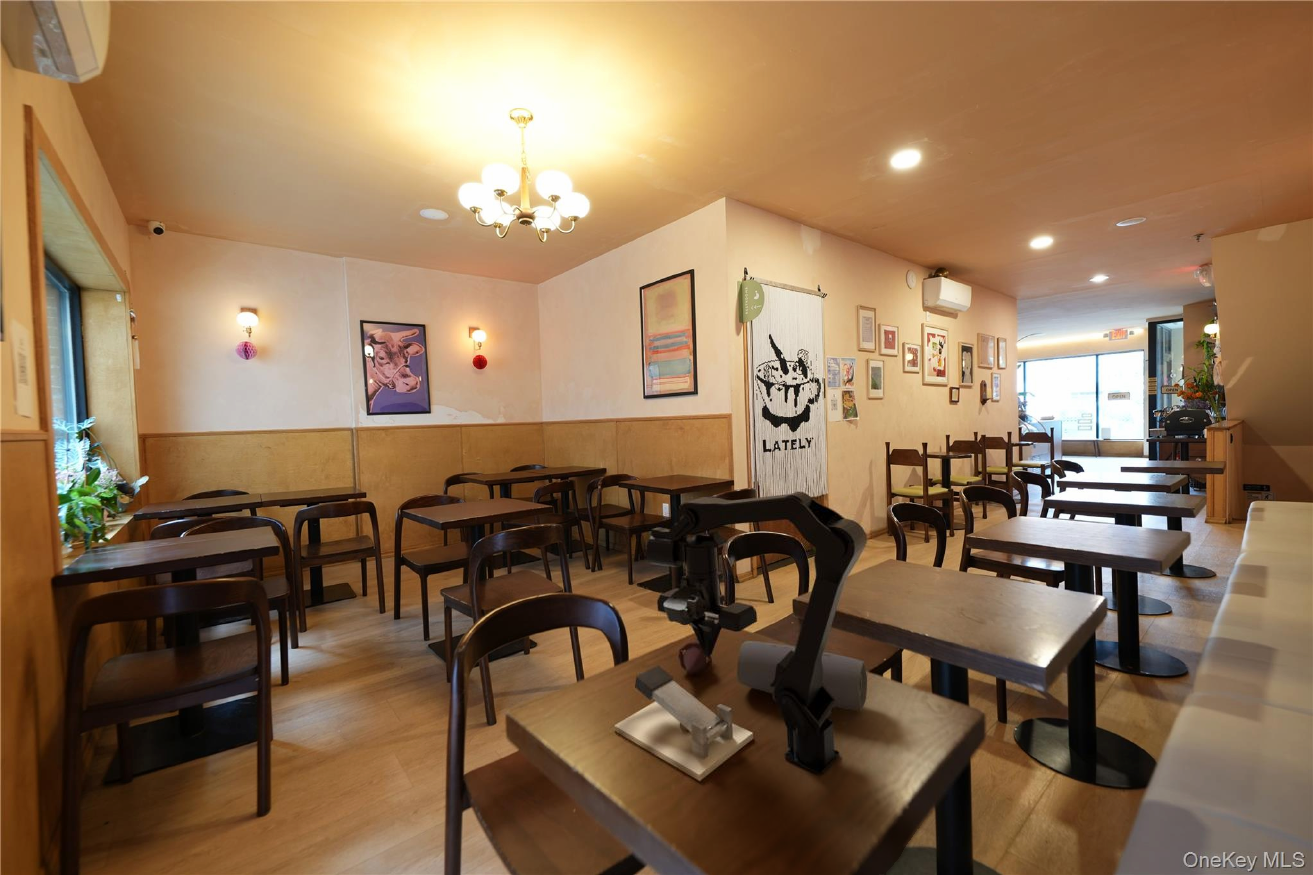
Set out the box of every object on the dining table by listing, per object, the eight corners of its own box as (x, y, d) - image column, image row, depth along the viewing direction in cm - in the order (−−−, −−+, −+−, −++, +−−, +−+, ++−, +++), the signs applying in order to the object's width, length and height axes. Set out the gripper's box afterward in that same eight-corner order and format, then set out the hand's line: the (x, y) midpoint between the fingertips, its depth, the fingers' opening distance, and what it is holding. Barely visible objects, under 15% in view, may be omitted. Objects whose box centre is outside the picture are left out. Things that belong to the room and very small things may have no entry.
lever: (726, 732, 92) (728, 721, 91) (704, 747, 88) (707, 736, 87) (656, 675, 103) (658, 665, 103) (634, 686, 99) (636, 676, 99)
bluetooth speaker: (868, 701, 103) (866, 649, 102) (860, 727, 95) (858, 671, 94) (753, 677, 114) (751, 630, 114) (737, 699, 106) (734, 648, 106)
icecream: (710, 660, 109) (720, 635, 123) (674, 649, 111) (689, 626, 125) (702, 694, 109) (713, 665, 124) (667, 681, 111) (682, 655, 125)
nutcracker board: (753, 738, 93) (751, 704, 93) (699, 780, 83) (697, 743, 83) (668, 698, 107) (667, 669, 107) (614, 730, 98) (612, 698, 97)
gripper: (633, 573, 98) (639, 658, 98) (715, 591, 85) (722, 689, 85) (674, 558, 106) (680, 637, 106) (755, 572, 93) (761, 662, 93)
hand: (707, 655), depth 98 cm, fingers closed
